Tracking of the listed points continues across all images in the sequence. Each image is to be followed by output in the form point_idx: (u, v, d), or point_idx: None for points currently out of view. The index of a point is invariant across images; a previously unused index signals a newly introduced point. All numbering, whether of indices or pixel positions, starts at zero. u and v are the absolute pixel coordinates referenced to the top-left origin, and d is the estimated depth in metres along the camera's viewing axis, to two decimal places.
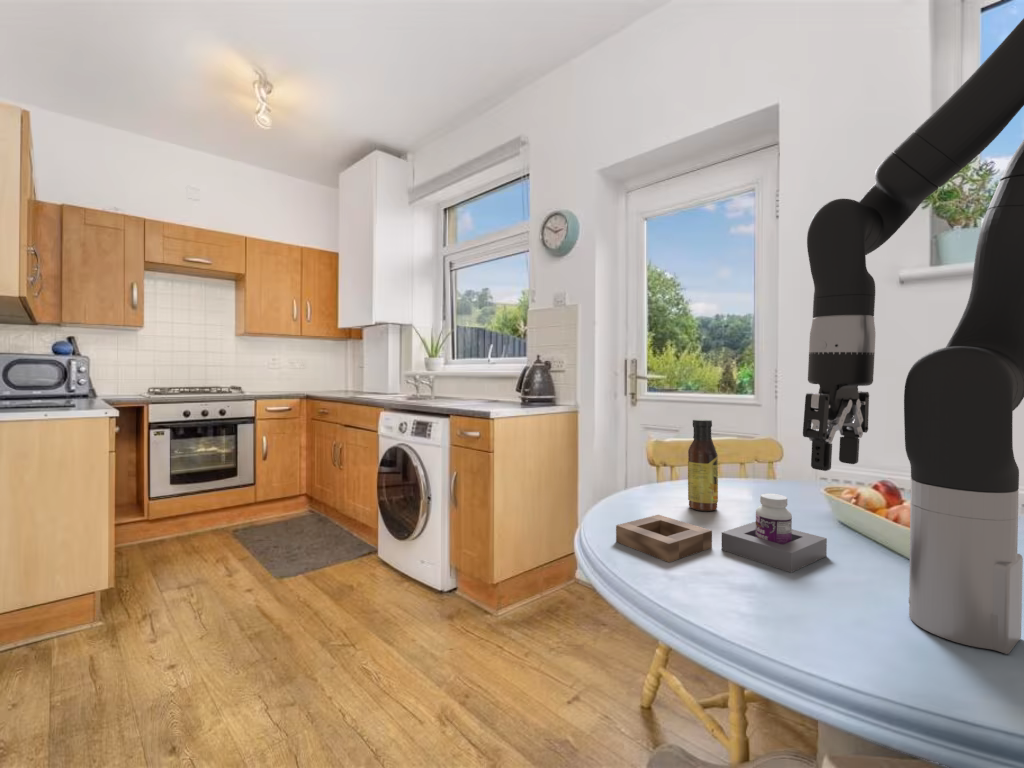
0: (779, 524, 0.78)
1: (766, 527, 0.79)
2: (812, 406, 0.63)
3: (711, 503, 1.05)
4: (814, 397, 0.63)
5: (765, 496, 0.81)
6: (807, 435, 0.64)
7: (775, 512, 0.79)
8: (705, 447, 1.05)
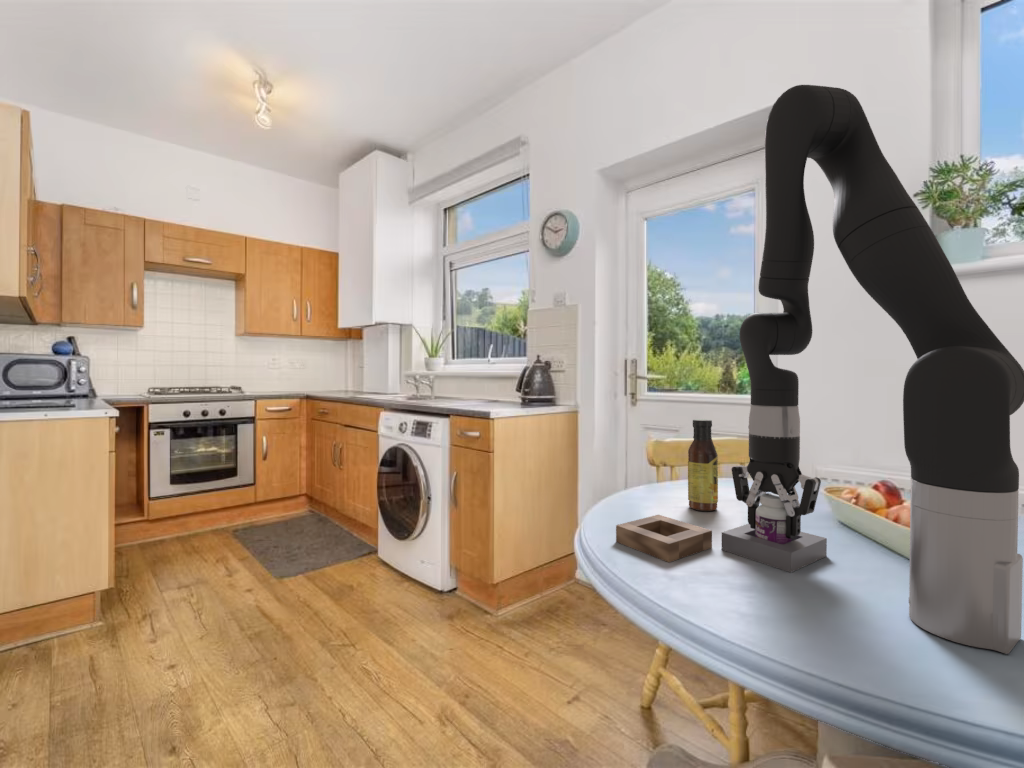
0: (779, 524, 0.78)
1: (766, 527, 0.79)
2: (814, 490, 0.75)
3: (711, 503, 1.05)
4: (816, 483, 0.75)
5: (765, 496, 0.81)
6: (807, 513, 0.76)
7: (775, 512, 0.79)
8: (705, 447, 1.05)
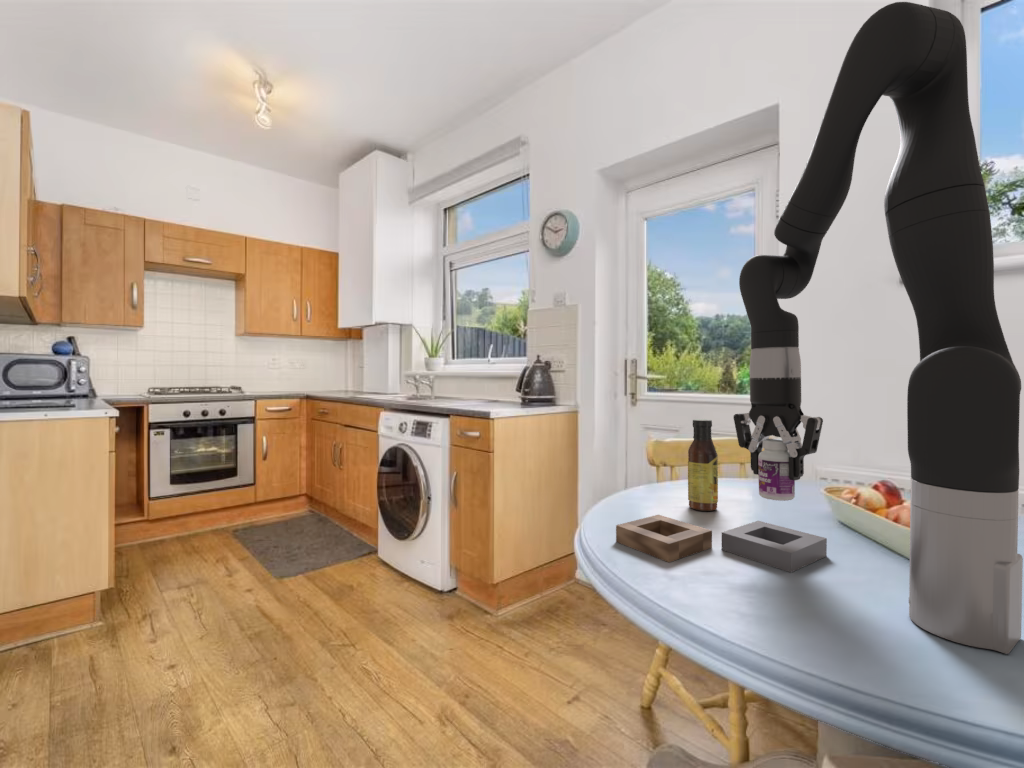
0: (782, 466, 0.78)
1: (769, 470, 0.79)
2: (816, 429, 0.75)
3: (711, 503, 1.05)
4: (818, 421, 0.75)
5: (767, 440, 0.80)
6: (810, 452, 0.75)
7: (777, 454, 0.78)
8: (705, 447, 1.05)
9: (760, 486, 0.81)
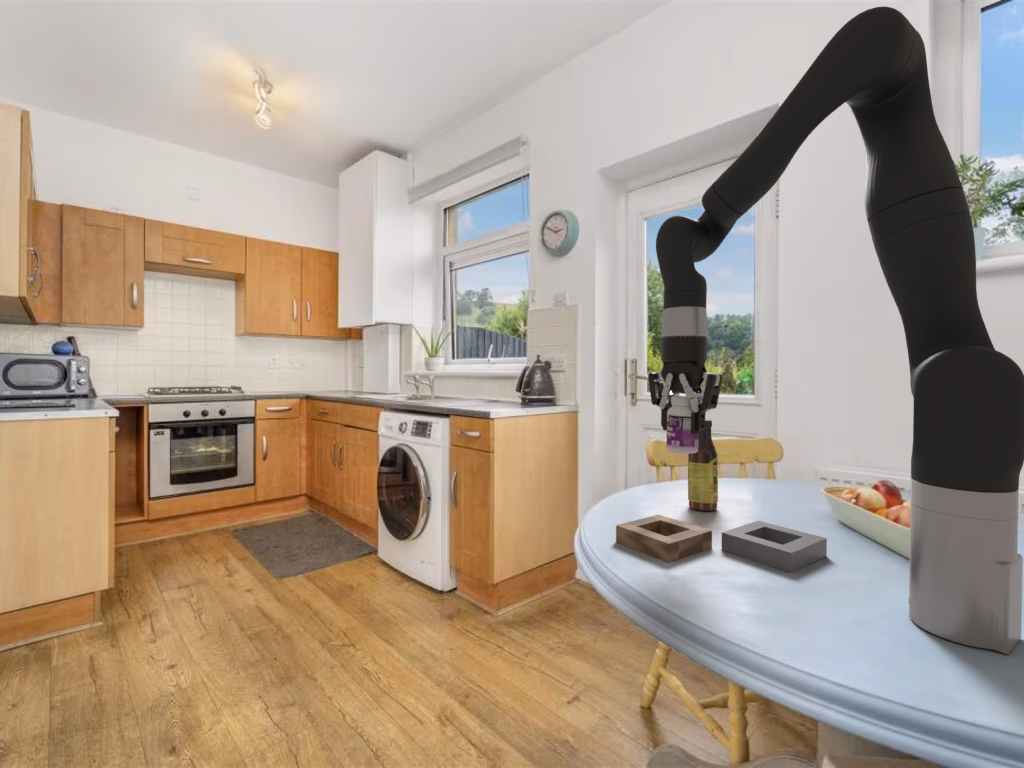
0: (685, 420, 0.82)
1: (674, 424, 0.82)
2: (715, 385, 0.78)
3: (711, 503, 1.05)
4: (717, 377, 0.78)
5: (675, 396, 0.84)
6: (709, 407, 0.79)
7: (682, 409, 0.82)
8: (705, 447, 1.05)
9: (667, 440, 0.84)
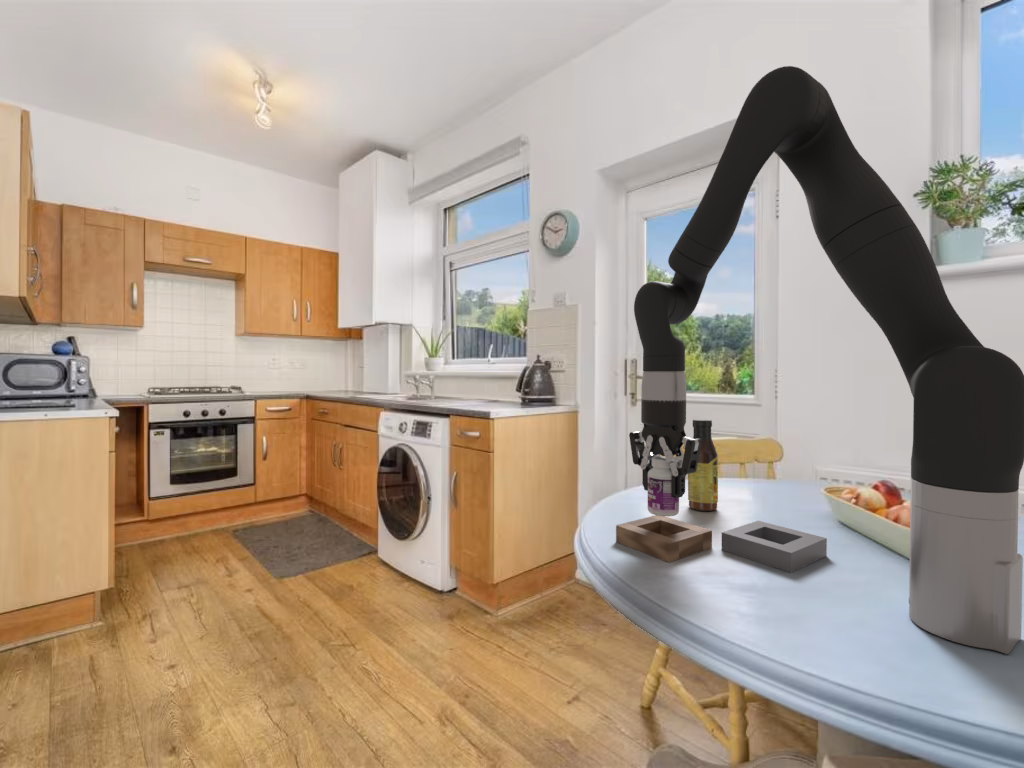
0: (665, 483, 0.82)
1: (654, 487, 0.83)
2: (694, 450, 0.79)
3: (711, 503, 1.05)
4: (696, 443, 0.79)
5: (655, 458, 0.84)
6: (689, 472, 0.79)
7: (662, 472, 0.83)
8: (705, 447, 1.05)
9: (648, 501, 0.85)
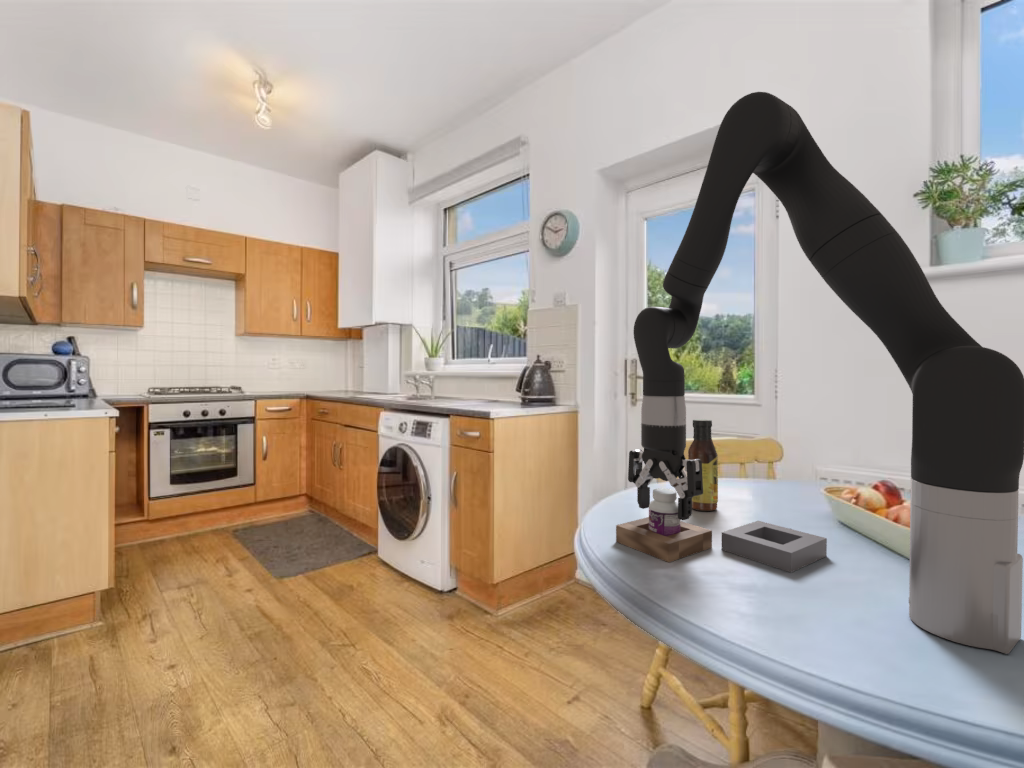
0: (666, 517, 0.82)
1: (655, 520, 0.83)
2: (696, 470, 0.79)
3: (711, 503, 1.05)
4: (696, 463, 0.79)
5: (656, 491, 0.85)
6: (695, 494, 0.79)
7: (663, 506, 0.83)
8: (705, 447, 1.05)
9: None
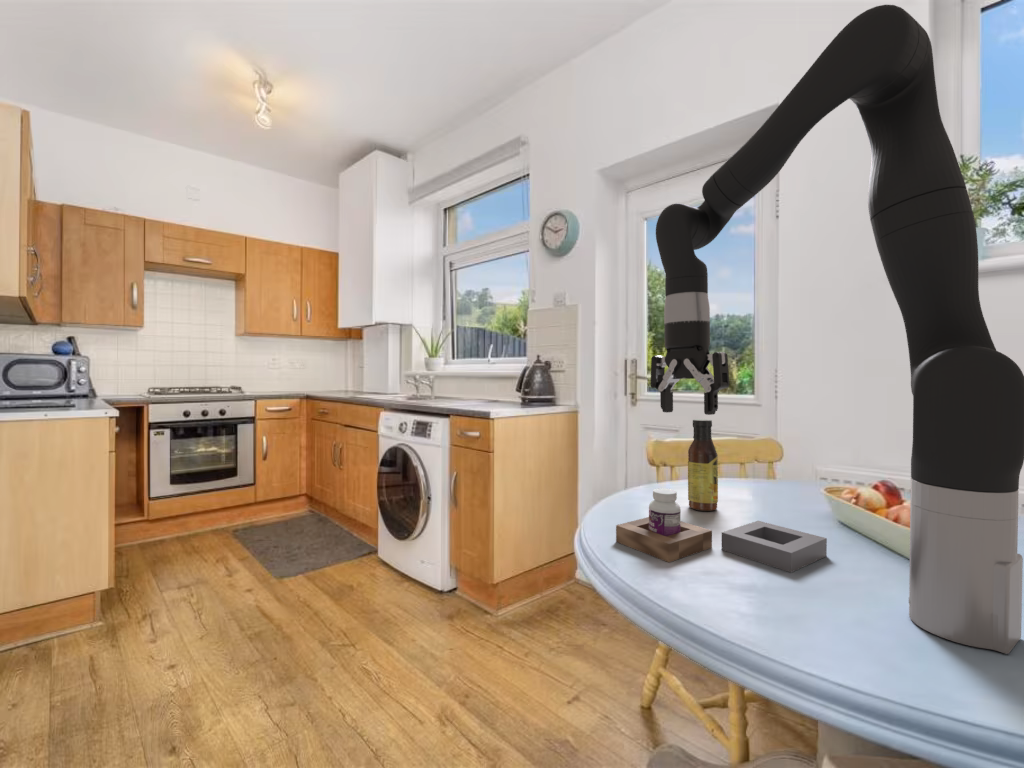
0: (666, 517, 0.82)
1: (655, 520, 0.83)
2: (722, 362, 0.79)
3: (711, 503, 1.05)
4: (722, 355, 0.79)
5: (656, 491, 0.85)
6: (722, 386, 0.79)
7: (663, 506, 0.83)
8: (705, 447, 1.05)
9: None
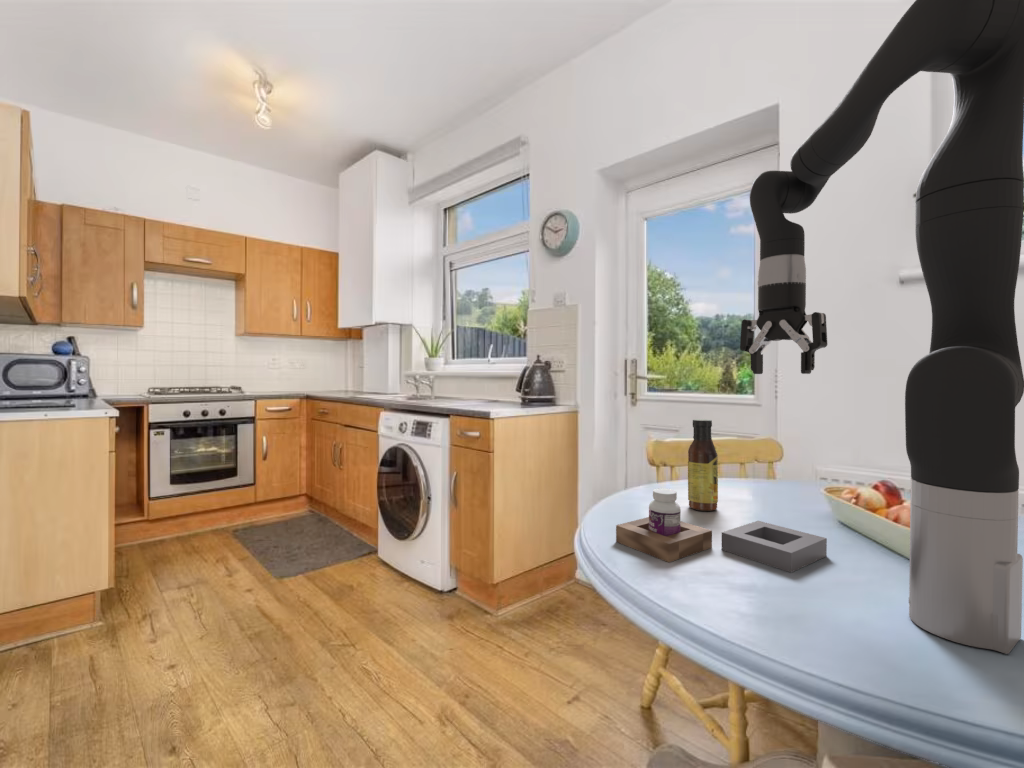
0: (666, 517, 0.82)
1: (655, 520, 0.83)
2: (821, 322, 0.81)
3: (711, 503, 1.05)
4: (822, 315, 0.81)
5: (656, 491, 0.85)
6: (821, 345, 0.81)
7: (663, 506, 0.83)
8: (705, 447, 1.05)
9: None
